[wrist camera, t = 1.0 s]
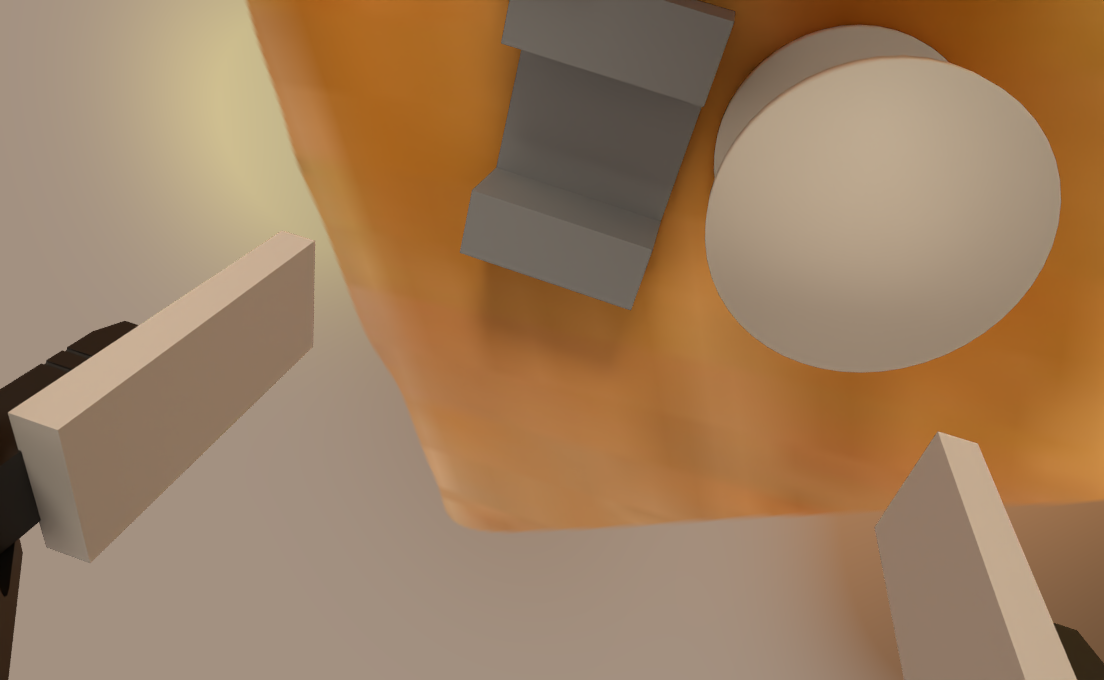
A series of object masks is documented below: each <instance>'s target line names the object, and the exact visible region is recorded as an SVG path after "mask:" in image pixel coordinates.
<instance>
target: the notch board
mask: <svg viewBox="0 0 1104 680" xmlns="http://www.w3.org/2000/svg"><path fill="white" fill-rule="evenodd" d="M734 19H735V11H732V10H728V9H725V8H722V7H718V6H715V5H712V4H709V3H705V2H702V1H699V0H510V1H509V6H508V11H507V16H506V21H505V26H504V31H503V36H502V41H501V43H502V44H505V45H508V46H511V47H514V48H518V49H521V54H520V59H519V64H518V68H517V73H516V78H515V83H514V87H513V92H512V97H511V101H510V106H509V111H508V116H507V120H506V125H505V130H504V134H503V139H502V144H501V148H500V153H499V158H498V163H497V167H496V168H495V169H494V170H493V171H492V172H491V173H490V174H489V175H488V176H487V177H486V178H485V179H484V180H483V181H481V182H480V183H479V184H478V185H477V186H476V187H475V188H474V189H473V190H472V194H471V199H470V204H469V209H468V214H467V219H466V224H465V229H464V234H463V239H462V244H461V250H460V253H462V254H465V255H468V256H471V257H474V258H477V259H480V260H483V261H486V262H489V263H492V264H495V265H498V266H501V267H504V268H507V269H510V270H513V271H516V272H519V273H522V274H525V275H528V276H530V277H533V278H536V279H539V280H542V281H545V282H548V283H551V284H554V285H557V286H560V287H563V288H566V289H569V290H572V291H575V292H578V293H581V294H584V295H587V296H590V297H593V298H596V299H599V300H602V301H605V302H607V303H610V304H613V305H616V306H619V307H622V308H625V309H628V310H631V309H632V306H633V303H634V300H635V298H636V295H637V292H638V289H639V286H640V284H641V281H642V278H643V275H644V272H645V270H646V267H647V264H648V261H649V258H650V256H651V253H652V250H653V247H654V243H655V240H656V236H657V233H658V229H659V226H660V222H661V219H662V217H663V214H664V211H665V208H666V205H667V203H668V200H669V197H670V194H671V191H672V188H673V186H674V183H675V180H676V177H677V174H678V172H679V169H680V166H681V163H682V160H683V158H684V155H685V152H686V149H687V146H688V144H689V141H690V138H691V135H692V132H693V130H694V127H695V124H696V121H697V118H698V116H699V113H700V110H701V107H704V105H705V102H706V99H707V97H708V94H709V91H710V88H711V85H712V83H713V80H714V77H715V74H716V71H717V69H718V66H719V63H720V60H721V57H722V55H723V52H724V49H725V46H726V44H727V41H728V38H729V35H730V32H731V30H732V27H733V24H734Z"/></svg>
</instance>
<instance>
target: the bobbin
mask: <svg viewBox="0 0 1104 680" xmlns="http://www.w3.org/2000/svg"><path fill="white" fill-rule="evenodd" d="M714 175H715V179H714V183H713V186H712V189H711V192H710V197H709V203H708V209H707V216H706V227H705V245H706V254H707V261H708V265H709V269H710V273H711V276H712V279H713V282H714V284H715V286H716V289H717V291H718V294H719V295H720V297H721V299H722V300H723V302H724V304H725V305H726V307H727V309H728V310H729V311H730V313H731V314H732V315H733V316H734V318H735V319H736V320H737V321H738V323H739V324H740V325H741V326H742V327H743V328H745V329H746V330H747V331H748V332H749V333H750V334H751V335H752V336H753V337H755V338H756V339H757V340H759V341H760V342H761V343H763V344H764V345H766V346H767V347H769V348H770V349H772V350H774V351H776V352H778V353H780V354H781V355H783V356H785V357H788V358H790V359H793V360H795V361H798V362H800V363H803V364H807V365H810V366H814V367H818V368H822V369H828V370H834V371H841V372H860V373H862V372H881V371H888V370H894V369H901V368H906V367H909V366H913V365H917V364H921V363H925V362H927V361H930V360H933V359H935V358H938V357H941V356H943V355H946V354H948V353H950V352H952V351H954V350H956V349H958V348H960V347H962V346H964V345H966V344H967V343H969V342H971V341H972V340H974V339H975V338H977V337H979V336H980V335H982V334H983V333H985V332H986V331H987V330H988V329H990V328H991V327H992V326H994V325H995V324H996V323H997V322H999V321H1000V320H1001V319H1002V318H1003V317H1004V316H1005V315H1006V314H1007V313H1008V312H1009V311H1010V310H1011V309H1012V308H1013V307H1014V306H1015V305H1016V304H1017V303H1018V302H1019V301H1020V300H1021V298H1022V297H1023V296H1024V295H1025V293H1026V292H1027V291H1028V290H1029V288H1030V287H1031V286H1032V284H1033V283H1034V281H1035V279H1036V278H1037V276H1038V274H1039V273H1040V271H1041V269H1042V268H1043V266H1044V264H1045V262H1046V259H1047V257H1048V255H1049V253H1050V250H1051V248H1052V246H1053V242H1054V239H1055V235H1056V231H1057V228H1058V224H1059V216H1060V207H1061V189H1060V178H1059V173H1058V168H1057V163H1056V159H1055V157H1054V154H1053V152H1052V149H1051V147H1050V144H1049V141H1048V139H1047V137H1046V136H1045V134H1044V133H1043V131H1042V129H1041V128H1040V126H1039V124H1038V123H1037V121H1036V120H1035V119H1034V118H1033V116H1032V115H1031V114H1030V113H1029V112H1028V111H1027V110H1026V109H1025V107H1024V106H1023V105H1022V104H1021V103H1020V102H1019V101H1017V100H1016V99H1015V98H1014V97H1012V96H1011V95H1010V94H1009V93H1007V92H1006V91H1005V90H1004V89H1002V88H1001V87H999V86H997V85H995V84H994V83H992V82H990V81H988V80H987V79H985V78H983V77H981V76H980V75H978V74H976V73H974V72H973V71H970V70H968V69H965V68H963V67H960V66H957V65H955V64H952V63H949V62H948V61H947V60H946V59H945V58H944V57H943V56H942V55H940V54H939V53H938V52H937V51H935V50H934V49H933V48H932V47H930V46H928V45H927V44H925V43H923V42H921V41H920V40H918V39H916V38H914V37H913V36H910V35H908V34H905V33H903V32H900V31H897V30H895V29H890V28H886V27H881V26H874V25H861V24H859V25H842V26H837V27H831V28H826V29H822V30H819V31H816V32H813V33H810V34H807V35H804V36H802V37H800V38H798V39H796V40H794V41H791V42H790V43H788V44H786V45H785V46H783V47H781V48H780V49H778V50H776V51H775V52H774V53H772V54H771V55H770V56H769V57H767V58H766V59H765V60H763V61H762V62H761V63H760V64H759V65H758V66H757V67H756V68H755V69H754V70H753V71H752V72H751V73H750V74H749V75H748V76H747V77H746V79H745V80H744V81H743V83H742V84H741V85H740V86H739V88H738V89H737V91H736V92H735V94H734V96H733V97H732V99H731V101H730V102H729V104H728V106H727V109H726V111H725V113H724V115H723V118H722V121H721V124H720V127H719V131H718V135H717V140H716V146H715V154H714Z"/></svg>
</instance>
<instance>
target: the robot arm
mask: <svg viewBox="0 0 1104 680" xmlns="http://www.w3.org/2000/svg"><path fill="white" fill-rule="evenodd" d="M314 269H315V241H314V240H311V239H308V238H304V237H301V236H298V235H295V234H292V233H288V232H285V231H280V232H279V233H278V234H276V235H274V236H273V237H271V238H270V239H268V240H267V241H265V242H264V243H262V244H261V245H260V246H258V247H256V248H255V249H253V250H252V251H250V252H249V253H247V254H246V255H244V256H243V257H241V258H240V259H238V260H237V261H235V262H234V263H232V264H231V265H229V266H228V267H226V268H225V269H223V270H222V271H220V272H219V273H217V274H216V275H214V276H213V277H211V278H210V279H208V280H207V281H205V282H204V283H202V284H201V285H199V286H198V287H196V288H195V289H193V290H192V291H190V292H189V293H187V294H186V295H184V296H183V297H181V298H180V299H178V300H177V301H175V302H174V303H172V304H171V305H169V306H168V307H166V308H164V309H163V310H161V311H160V312H158V313H157V314H155V315H154V316H152V317H151V318H150V319H148V320H147V321H145V322H143V323H142V324H140V325H136V324H133V323H130V322H126V321H123V322H120V323H117V324H114V325H111V326H108V327H105V328H102V329H99V330H96V331H93V332H91V333H89V334H88V335H86V336H85V337H83V338H81V339H80V340H78V341H77V342H75V343H74V344H72V345H70V346H69V347H67V350H66V351H61V352H59V353H58V354H56V355H54V356H53V357H51V358H50V359H48V360H47V361H46V364H40V365H38V366H37V367H35V368H34V369H32V370H30V371H29V372H27V373H26V374H24V375H22V376H21V377H19V378H18V379H16V380H14V381H13V382H12V383H10V384H8V385H6V386H5V387H3V388H2V389H0V680H8V677H9V668H10V659H11V651H12V642H13V633H14V624H15V615H16V607H17V597H18V589H19V579H20V571H21V563H22V554H23V552H22V548H21V543H20V540H19V538H20V537H21V536H23V535H24V534H25V533H26V532H27V531H28V530H30V529H31V528H32V527H33V526H34V525H36V524H37V523H38V522H39V523H40V526H41V530H42V534H43V537H44V540H45V544H46V547H47V548H50V549H53V550H55V551H58V552H61V553H64V554H66V555H69V556H72V557H75V558H77V559H80V560H83V561H86V562H88V563H91V562H92V561H93V560H94V559H95V558H96V557H97V556H98V555H99V554H100V553H101V552H102V551H103V550H104V549H105V548H106V547H107V546H108V545H109V544H110V543H111V542H112V541H113V540H114V539H116V537H117V536H119V535H120V534H121V533H122V532H123V531H124V530H125V529H126V528H127V527H128V526H129V525H130V524H131V523H132V522H133V521H134V520H135V519H136V518H137V517H138V516H139V515H140V514H141V513H142V512H143V511H144V510H145V509H146V508H147V507H148V506H149V505H150V504H151V503H153V501H155V499H157V498H158V497H159V496H160V495H161V494H162V493H163V492H164V491H165V490H166V489H167V488H168V487H169V486H170V485H171V484H172V483H173V482H174V481H175V480H176V479H177V478H178V477H179V476H180V475H181V474H182V473H183V472H184V471H185V470H186V469H188V468H189V467H190V466H191V465H192V464H193V463H194V462H195V461H196V460H197V459H198V458H199V457H200V456H201V455H202V454H203V453H204V452H205V451H206V450H207V449H208V448H209V447H210V446H211V445H212V444H213V443H214V442H215V441H216V440H217V439H218V438H219V437H220V436H221V435H222V434H223V433H225V432H226V430H228V429H229V428H230V427H231V426H232V425H233V424H234V423H235V422H236V421H237V420H238V419H239V418H240V417H241V416H242V415H243V414H244V413H245V412H246V411H247V410H248V409H249V408H250V407H251V406H252V405H253V404H254V403H255V402H256V401H257V400H258V399H260V397H262V396H263V395H264V394H265V392H267V391H268V390H269V389H270V388H271V387H272V386H273V385H274V384H275V383H276V382H277V381H278V380H279V379H280V378H281V377H282V376H283V375H284V374H285V373H286V372H287V371H288V370H289V369H290V368H291V367H292V366H293V365H294V364H296V363H297V362H298V361H299V360H300V359H301V358H302V357H303V356H304V355H305V354H306V353H307V352H308V351H309V350H310V349H311V348H312V347H313V324H314V322H313V321H314ZM875 532H876V537H877V543H878V547H879V553H880V558H881V563H882V568H883V573H884V579H885V584H886V589H887V594H888V599H889V604H890V609H891V615H892V620H893V624H894V630H895V635H896V640H897V646H898V651H899V655H900V661H901V666H902V671H903V677H904V680H1104V663H1103V662H1102V661H1101V660H1100V658H1099V657H1098V656H1097V655H1096V653H1095V652H1094V651H1093V650H1092V648H1091V647H1090V646H1089V645H1088V643H1087V642H1086V641H1085V640H1084V639H1083V637H1082V636H1081V635H1080V634H1079V632H1078V631H1077V630H1074V629H1071V628H1068V627H1065V626H1062V625H1059V624H1055V623H1053V622H1052V619H1051V617H1050V614H1049V612H1048V610H1047V607H1046V605H1045V602H1044V600H1043V598H1042V595H1041V593H1040V591H1039V588H1038V586H1037V583H1036V581H1035V579H1034V576H1033V574H1032V572H1031V569H1030V567H1029V564H1028V563H1027V560H1026V557H1025V555H1024V553H1023V550H1022V548H1021V545H1020V543H1019V541H1018V538H1017V536H1016V533H1015V531H1014V529H1013V526H1012V524H1011V522H1010V519H1009V517H1008V515H1007V512H1006V510H1005V507H1004V505H1003V503H1002V500H1001V498H1000V495H999V493H998V491H997V488H996V486H995V483H994V481H993V479H992V476H991V474H990V472H989V469H988V467H987V464H986V462H985V460H984V457H983V455H982V453H981V450H980V448H979V445H978V444H977V443H974V442H971V441H968V440H964V439H961V438H958V437H955V436H951V435H948V434H945V433H942V432H937V433H936V435H935V436H934V438H933V439H932V441H931V442H930V444H929V445H928V447H927V448H926V450H925V452H924V453H923V455H922V456H921V458H920V459H919V461H918V462H917V464H916V465H915V467H914V468H913V470H912V471H911V473H910V474H909V476H908V477H907V479H906V480H905V482H904V483H903V485H902V486H901V488H900V489H899V491H898V492H897V494H896V495H895V497H894V498H893V500H892V501H891V503H890V504H889V506H888V508H887V509H886V511H885V512H884V514H883V515H882V517H881V518H880V520H879V521H878V523H877V524H876V526H875Z"/></svg>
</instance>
